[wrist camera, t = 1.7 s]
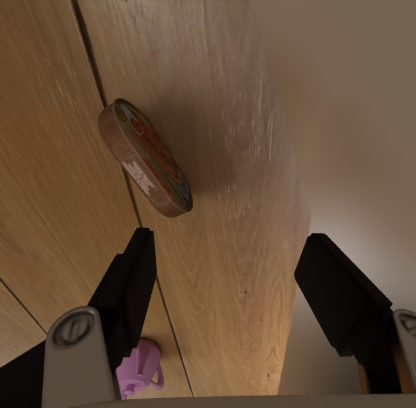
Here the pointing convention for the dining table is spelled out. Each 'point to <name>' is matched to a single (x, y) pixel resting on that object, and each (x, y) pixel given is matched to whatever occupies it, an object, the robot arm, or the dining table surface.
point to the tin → (145, 158)
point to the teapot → (140, 369)
